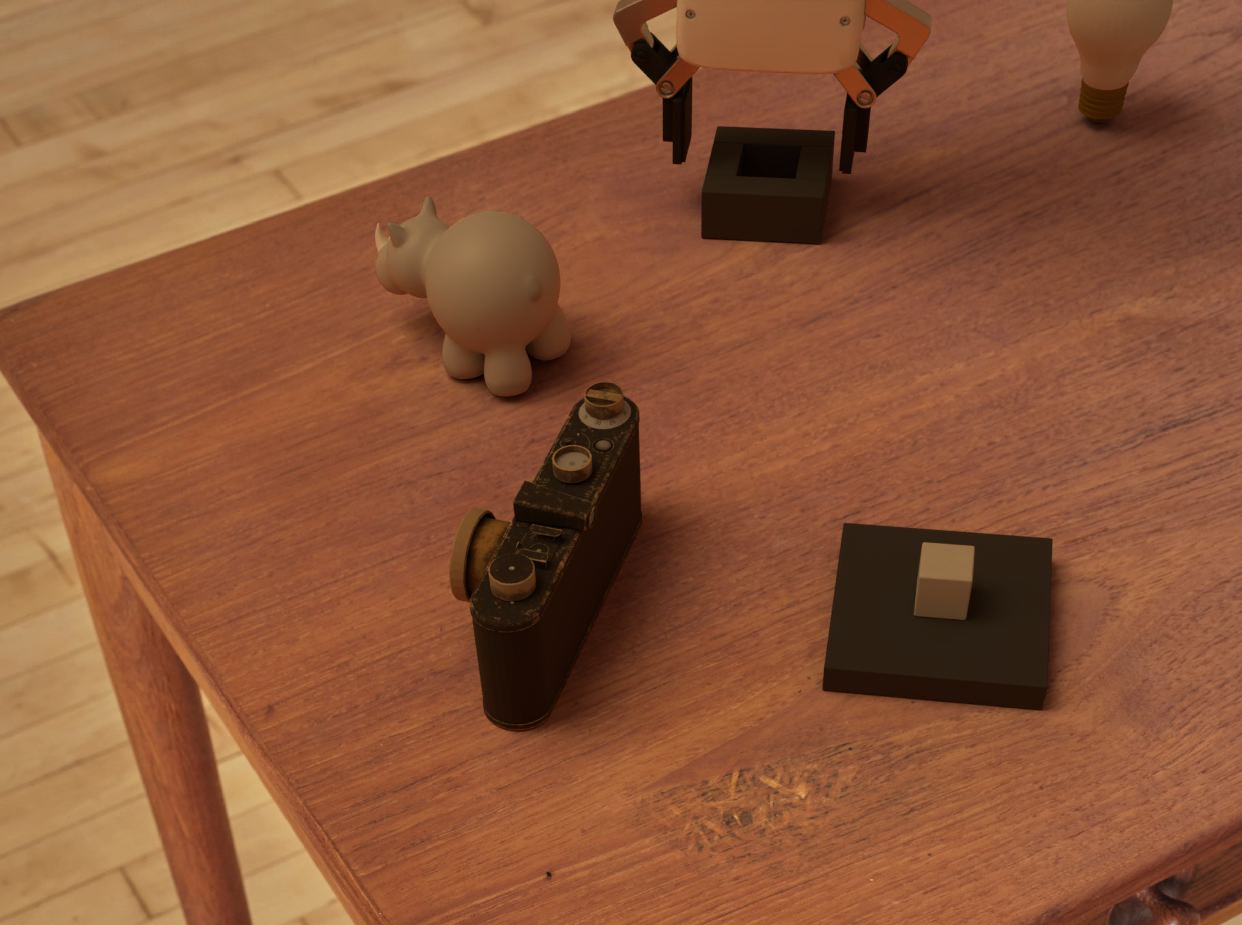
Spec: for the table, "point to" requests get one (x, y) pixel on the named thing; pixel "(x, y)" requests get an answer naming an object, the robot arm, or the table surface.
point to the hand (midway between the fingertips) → (764, 156)
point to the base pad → (941, 616)
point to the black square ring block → (767, 184)
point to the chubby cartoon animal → (480, 291)
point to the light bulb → (1112, 48)
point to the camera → (551, 558)
